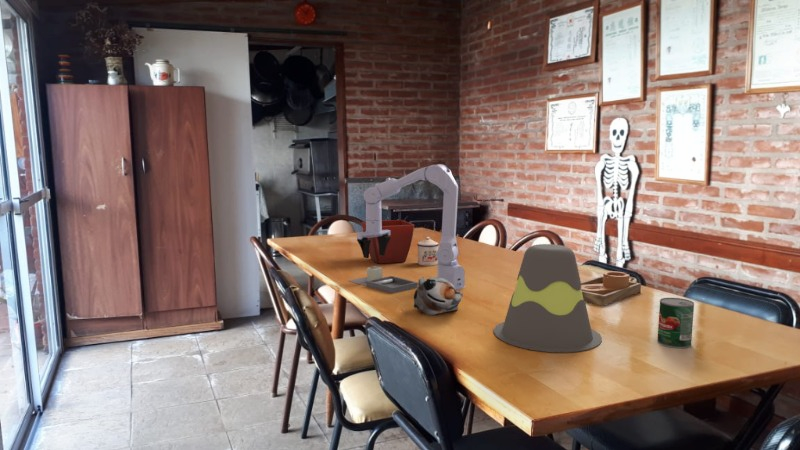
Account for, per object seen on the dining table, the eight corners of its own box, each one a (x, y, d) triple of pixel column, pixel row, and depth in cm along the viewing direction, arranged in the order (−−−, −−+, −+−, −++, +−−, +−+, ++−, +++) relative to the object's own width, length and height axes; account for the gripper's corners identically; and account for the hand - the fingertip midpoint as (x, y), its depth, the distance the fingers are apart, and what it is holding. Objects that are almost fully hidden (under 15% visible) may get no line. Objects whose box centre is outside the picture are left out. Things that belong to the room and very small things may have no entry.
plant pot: (361, 257, 259) (361, 221, 257) (401, 255, 265) (401, 219, 263) (372, 266, 241) (372, 226, 239) (415, 263, 247) (415, 224, 245)
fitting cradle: (640, 291, 197) (641, 283, 197) (604, 305, 180) (604, 296, 180) (600, 284, 208) (600, 276, 208) (562, 296, 191) (562, 287, 191)
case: (417, 288, 202) (417, 282, 202) (392, 294, 194) (392, 288, 194) (391, 282, 212) (391, 275, 212) (366, 287, 204) (366, 281, 204)
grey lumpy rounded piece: (463, 306, 179) (472, 273, 171) (450, 331, 170) (459, 297, 162) (420, 289, 183) (426, 256, 175) (405, 313, 174) (410, 279, 166)
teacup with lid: (421, 266, 240) (421, 239, 238) (414, 262, 248) (414, 236, 247) (447, 264, 244) (448, 237, 242) (439, 260, 252) (439, 234, 251)
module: (382, 281, 212) (382, 266, 211) (374, 282, 209) (374, 268, 208) (375, 279, 214) (375, 265, 214) (367, 281, 212) (367, 266, 211)
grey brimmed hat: (523, 313, 172) (525, 235, 169) (617, 332, 155) (621, 245, 151) (474, 337, 151) (475, 247, 148) (576, 362, 133) (580, 261, 130)
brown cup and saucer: (618, 290, 201) (619, 270, 200) (633, 296, 193) (634, 276, 192) (572, 293, 196) (573, 273, 195) (585, 299, 188) (586, 279, 187)
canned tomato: (652, 343, 146) (654, 301, 144) (664, 336, 151) (666, 295, 150) (684, 350, 140) (687, 307, 139) (696, 343, 146) (699, 301, 144)
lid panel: (391, 282, 212) (391, 278, 212) (366, 287, 204) (366, 284, 204) (372, 277, 220) (372, 274, 220) (347, 282, 212) (347, 278, 212)
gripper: (381, 217, 217) (382, 252, 218) (351, 220, 207) (351, 257, 209) (394, 219, 211) (394, 255, 213) (363, 222, 202) (364, 260, 204)
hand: (374, 256), depth 211 cm, fingers open, 7 cm apart
